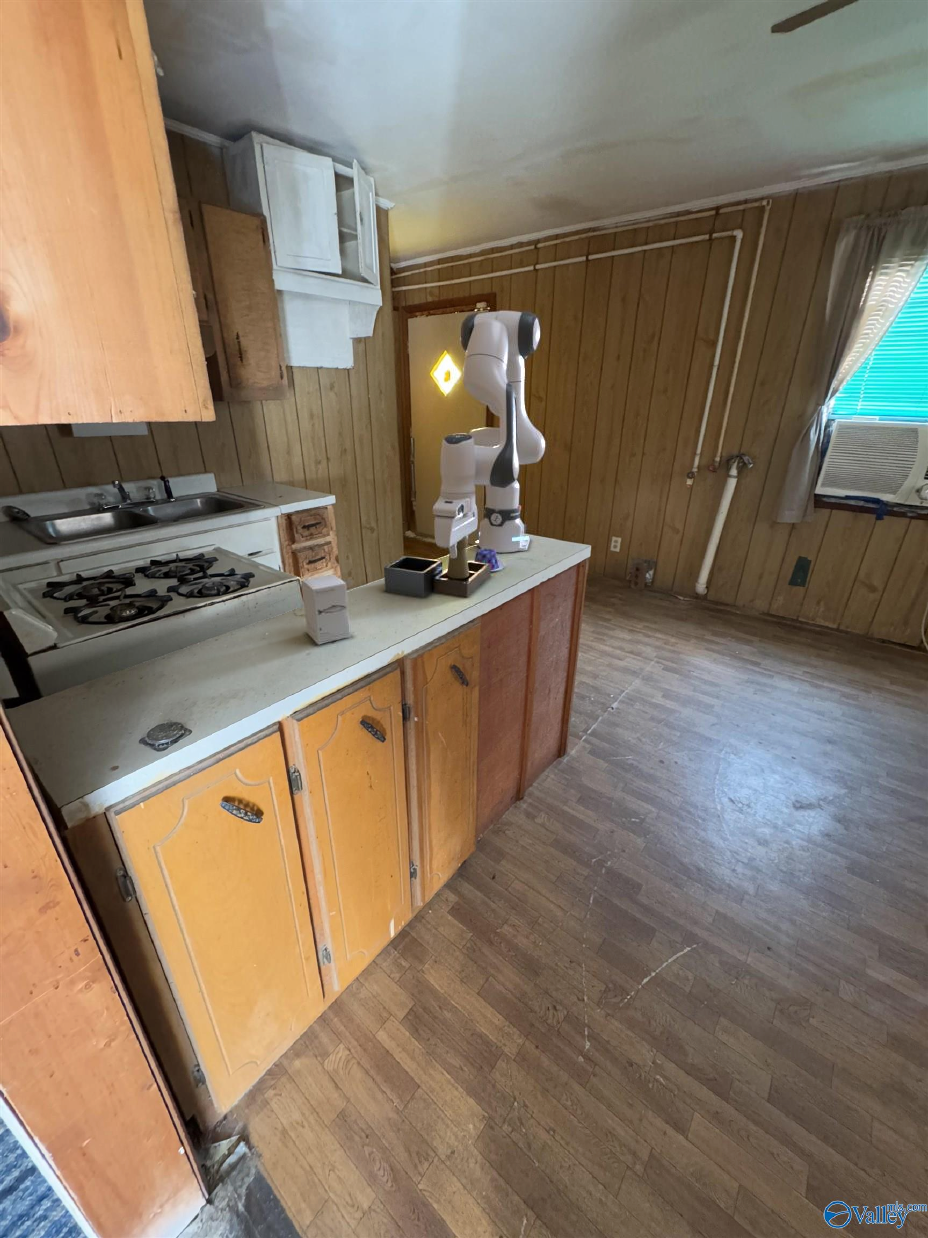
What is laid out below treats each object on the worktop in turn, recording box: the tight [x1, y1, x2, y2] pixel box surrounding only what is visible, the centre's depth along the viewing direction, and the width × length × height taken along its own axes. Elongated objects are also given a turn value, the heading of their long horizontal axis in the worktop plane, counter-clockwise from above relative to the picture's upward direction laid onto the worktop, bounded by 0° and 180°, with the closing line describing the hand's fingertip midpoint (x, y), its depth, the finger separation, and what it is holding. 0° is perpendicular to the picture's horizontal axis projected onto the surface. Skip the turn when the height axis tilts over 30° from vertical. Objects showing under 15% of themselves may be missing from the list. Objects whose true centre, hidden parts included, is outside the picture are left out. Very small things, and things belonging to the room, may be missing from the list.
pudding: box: [471, 548, 507, 572], centre depth 153 cm, size 12×12×5 cm
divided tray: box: [433, 560, 492, 598], centre depth 139 cm, size 18×10×4 cm, turn 158°
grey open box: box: [383, 555, 443, 599], centre depth 136 cm, size 12×12×7 cm
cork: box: [446, 536, 469, 579], centre depth 133 cm, size 6×6×11 cm
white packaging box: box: [300, 573, 351, 645], centre depth 107 cm, size 7×7×13 cm
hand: (457, 554), depth 133 cm, fingers closed on cork, 4 cm apart
